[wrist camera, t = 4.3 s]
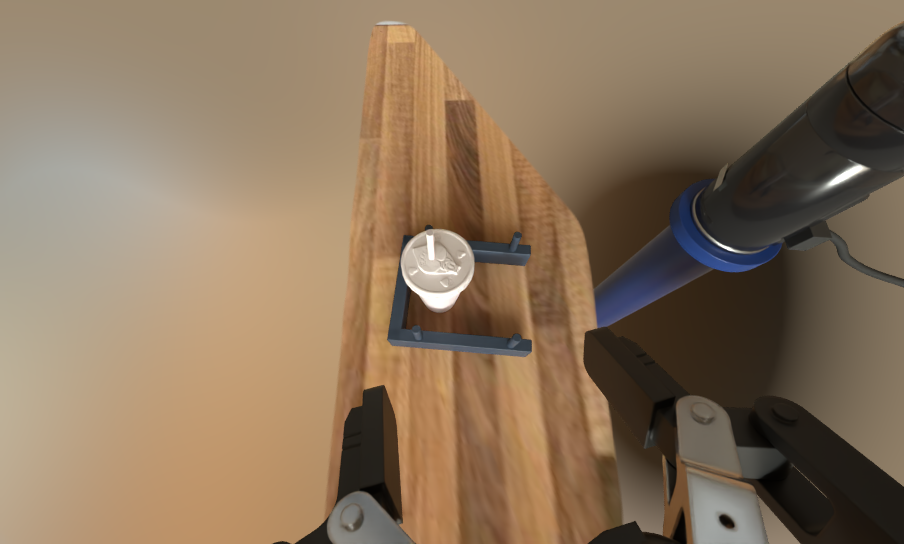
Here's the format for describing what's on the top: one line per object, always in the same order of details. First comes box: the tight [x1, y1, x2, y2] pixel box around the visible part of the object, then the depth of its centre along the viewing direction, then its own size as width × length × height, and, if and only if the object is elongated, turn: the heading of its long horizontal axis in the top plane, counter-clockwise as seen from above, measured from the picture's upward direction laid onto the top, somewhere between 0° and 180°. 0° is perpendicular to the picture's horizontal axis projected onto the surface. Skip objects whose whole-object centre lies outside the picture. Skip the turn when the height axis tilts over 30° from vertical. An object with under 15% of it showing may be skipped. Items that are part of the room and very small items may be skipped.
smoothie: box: [401, 229, 474, 313], centre depth 31 cm, size 6×6×14 cm
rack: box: [387, 225, 532, 357], centre depth 35 cm, size 14×12×6 cm
